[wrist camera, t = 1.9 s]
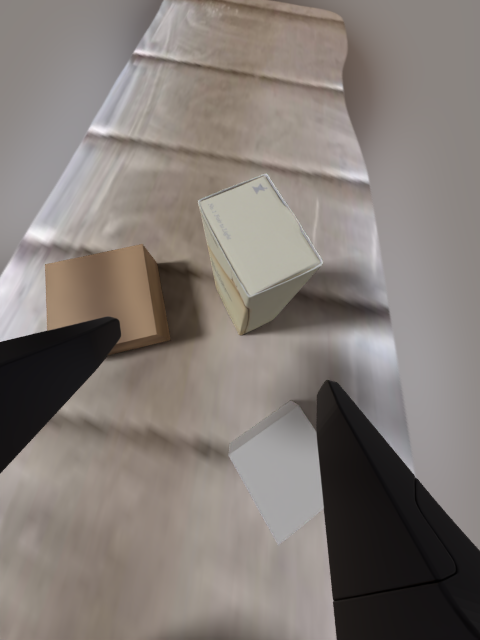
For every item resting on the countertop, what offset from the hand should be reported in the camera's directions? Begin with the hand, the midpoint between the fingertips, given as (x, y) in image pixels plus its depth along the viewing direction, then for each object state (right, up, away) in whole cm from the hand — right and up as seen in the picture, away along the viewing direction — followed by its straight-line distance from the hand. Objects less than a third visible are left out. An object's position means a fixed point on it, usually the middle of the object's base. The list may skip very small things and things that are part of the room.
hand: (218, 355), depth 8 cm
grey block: (+5, -11, +10) cm, 16 cm away
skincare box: (+2, +3, +14) cm, 14 cm away
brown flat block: (-12, +3, +13) cm, 18 cm away
